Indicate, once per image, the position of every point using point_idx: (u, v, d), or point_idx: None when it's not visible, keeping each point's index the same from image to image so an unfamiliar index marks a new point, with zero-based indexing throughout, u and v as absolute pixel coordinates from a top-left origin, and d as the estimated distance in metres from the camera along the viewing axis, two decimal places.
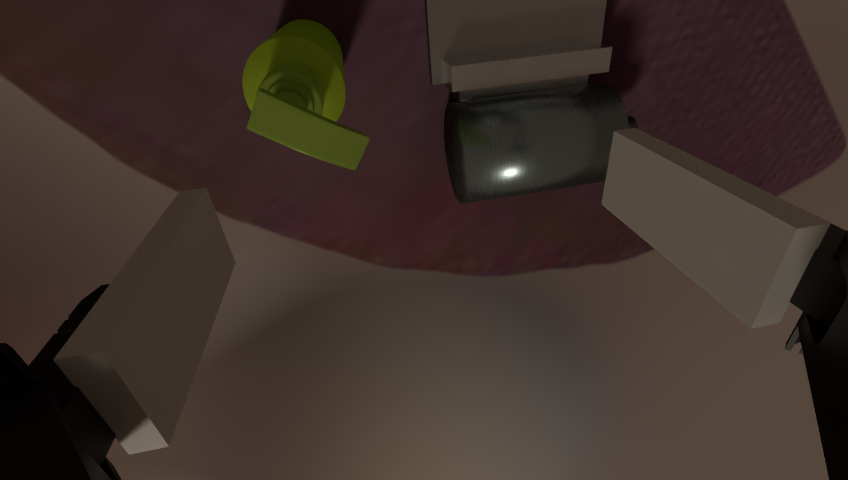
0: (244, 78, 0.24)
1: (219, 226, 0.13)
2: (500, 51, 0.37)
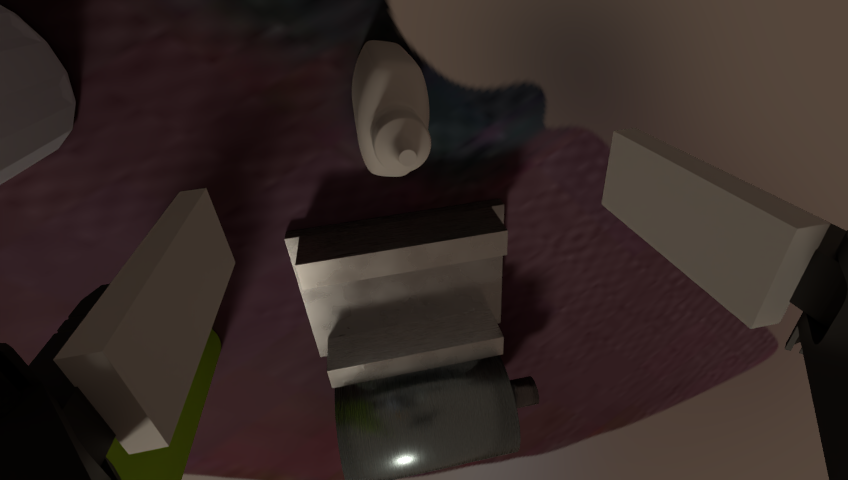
0: None
1: (219, 226, 0.13)
2: (391, 325, 0.35)
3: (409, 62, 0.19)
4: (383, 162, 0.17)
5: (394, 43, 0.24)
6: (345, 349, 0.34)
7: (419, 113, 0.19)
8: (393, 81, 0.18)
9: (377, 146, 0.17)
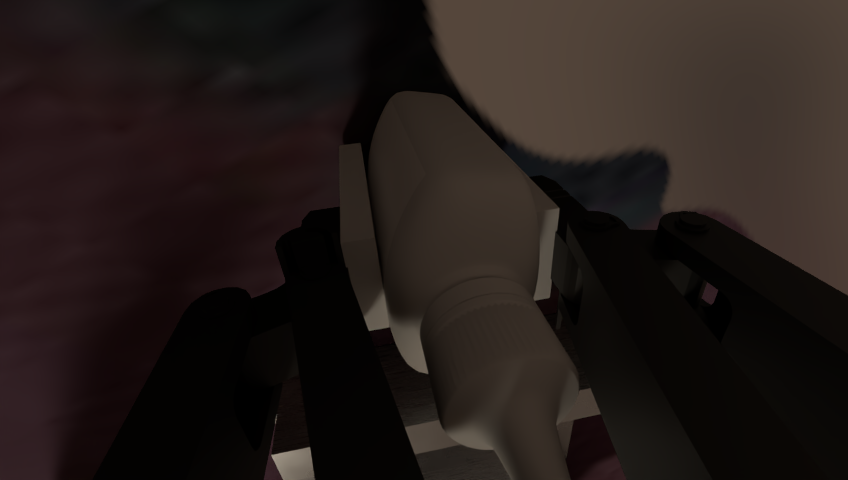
0: None
1: None
2: None
3: (506, 171, 0.08)
4: (461, 441, 0.07)
5: (444, 97, 0.14)
6: None
7: (526, 281, 0.09)
8: (475, 221, 0.08)
9: (450, 416, 0.07)
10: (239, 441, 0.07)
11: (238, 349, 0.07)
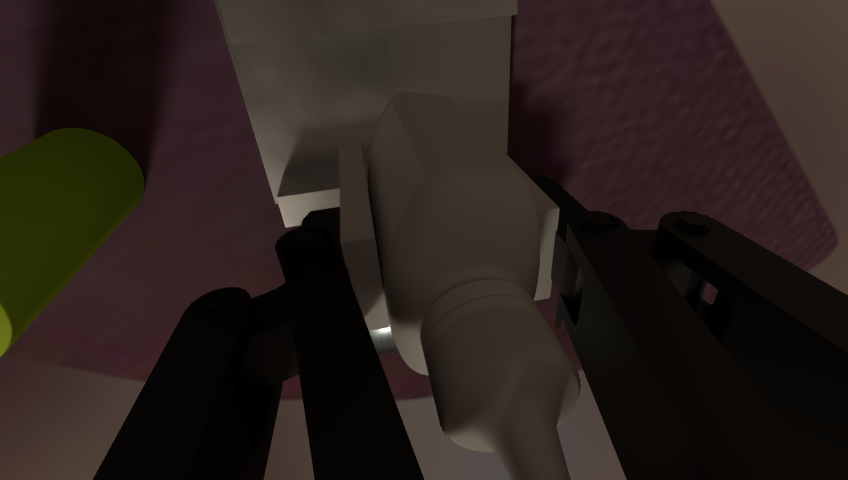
0: None
1: None
2: (366, 160, 0.27)
3: (506, 173, 0.08)
4: (461, 443, 0.07)
5: (444, 98, 0.14)
6: (304, 180, 0.26)
7: (527, 283, 0.09)
8: (475, 223, 0.08)
9: (451, 419, 0.07)
10: (239, 441, 0.07)
11: (238, 349, 0.07)
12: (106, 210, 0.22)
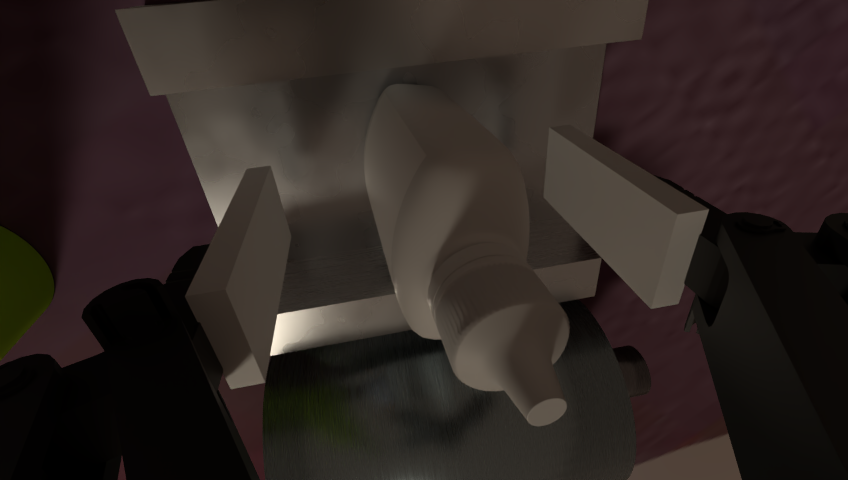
0: None
1: (280, 201, 0.14)
2: (380, 243, 0.19)
3: (497, 150, 0.10)
4: (470, 383, 0.08)
5: (433, 88, 0.15)
6: (288, 282, 0.17)
7: (519, 247, 0.10)
8: (473, 194, 0.09)
9: (461, 359, 0.08)
10: None
11: (41, 424, 0.06)
12: None
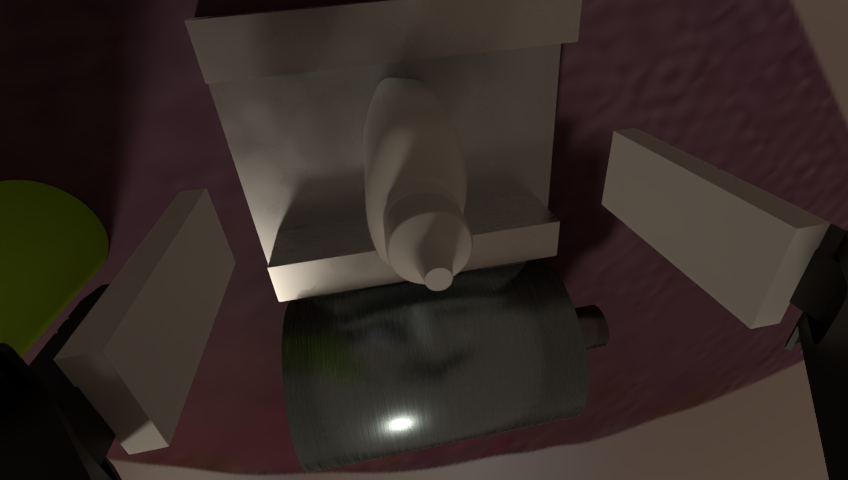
0: None
1: (219, 226, 0.13)
2: None
3: (439, 118, 0.13)
4: (401, 272, 0.12)
5: (418, 81, 0.18)
6: (302, 242, 0.21)
7: (453, 190, 0.13)
8: (416, 147, 0.13)
9: (392, 252, 0.11)
10: None
11: None
12: (48, 290, 0.17)
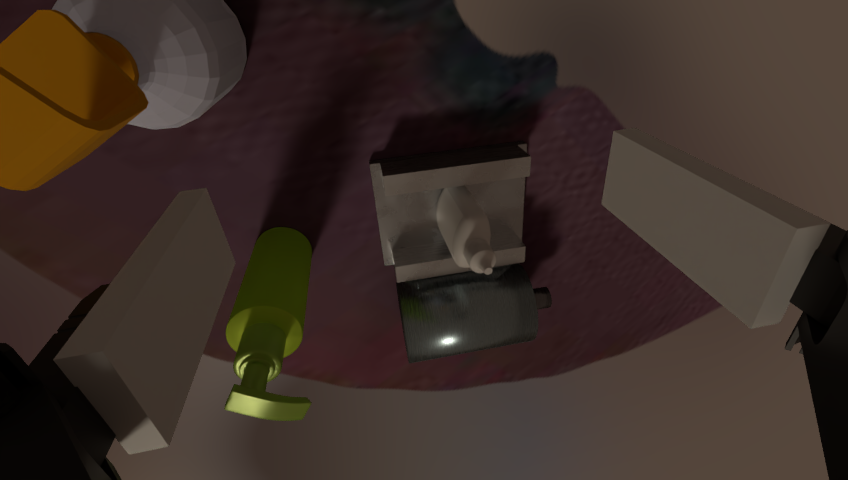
0: (227, 331, 0.33)
1: (219, 226, 0.13)
2: (439, 241, 0.46)
3: (481, 214, 0.37)
4: (473, 269, 0.36)
5: (463, 186, 0.42)
6: (406, 255, 0.45)
7: (487, 240, 0.37)
8: (475, 226, 0.37)
9: (471, 263, 0.35)
10: None
11: None
12: (308, 276, 0.41)
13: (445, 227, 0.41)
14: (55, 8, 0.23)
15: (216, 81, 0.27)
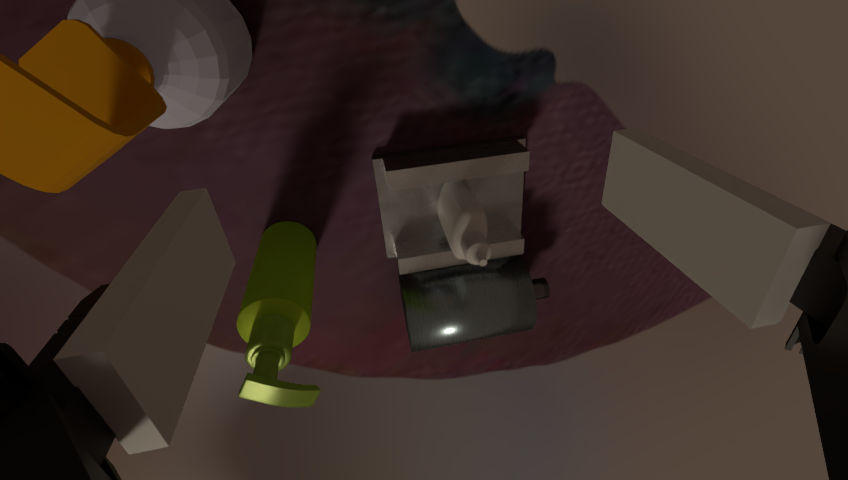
0: (238, 322, 0.34)
1: (219, 226, 0.13)
2: (440, 234, 0.48)
3: (478, 208, 0.38)
4: (469, 261, 0.37)
5: (463, 180, 0.43)
6: (408, 248, 0.46)
7: (483, 232, 0.38)
8: (472, 219, 0.38)
9: (467, 254, 0.37)
10: None
11: None
12: (314, 268, 0.42)
13: (444, 220, 0.42)
14: (71, 13, 0.24)
15: (226, 82, 0.28)
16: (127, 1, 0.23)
